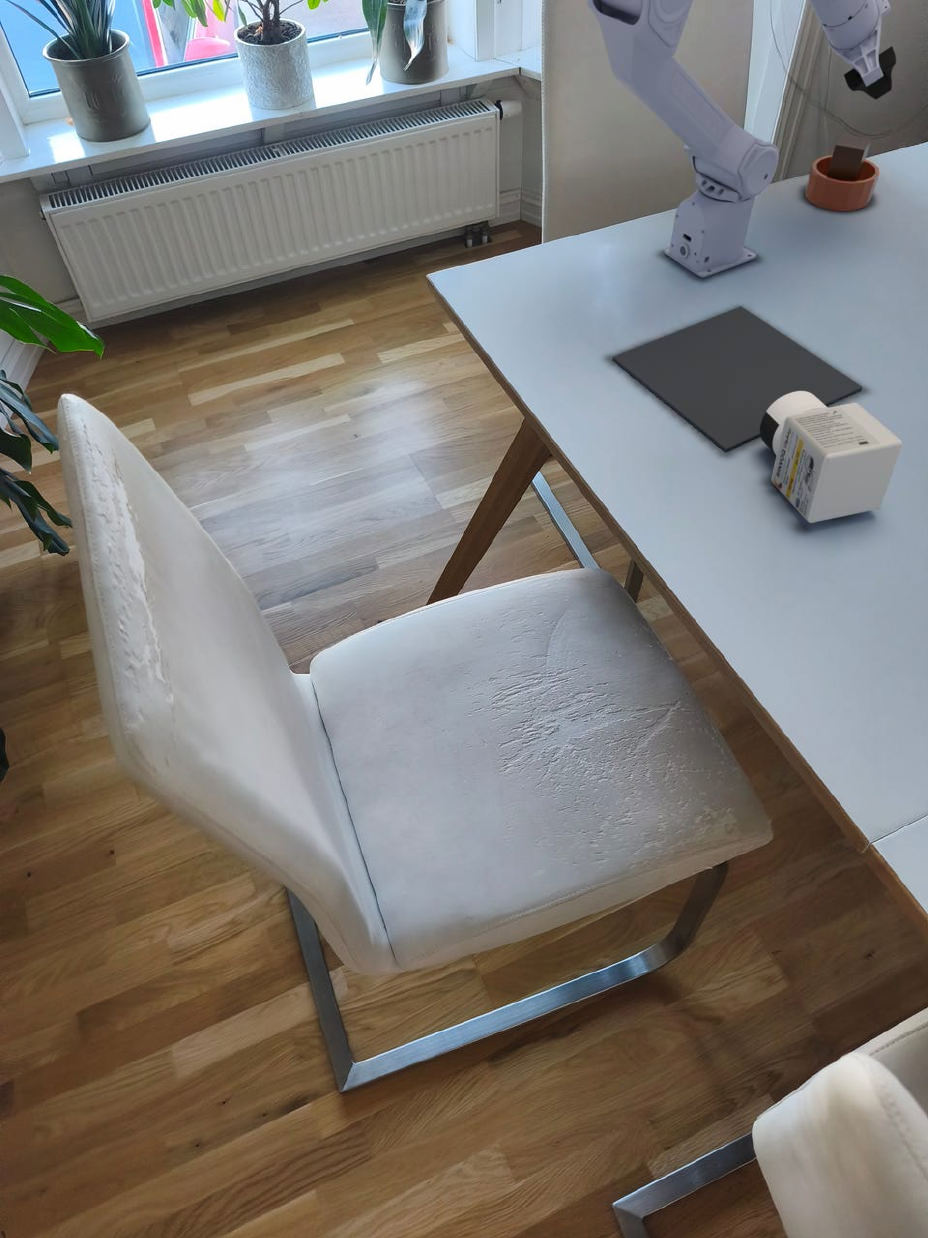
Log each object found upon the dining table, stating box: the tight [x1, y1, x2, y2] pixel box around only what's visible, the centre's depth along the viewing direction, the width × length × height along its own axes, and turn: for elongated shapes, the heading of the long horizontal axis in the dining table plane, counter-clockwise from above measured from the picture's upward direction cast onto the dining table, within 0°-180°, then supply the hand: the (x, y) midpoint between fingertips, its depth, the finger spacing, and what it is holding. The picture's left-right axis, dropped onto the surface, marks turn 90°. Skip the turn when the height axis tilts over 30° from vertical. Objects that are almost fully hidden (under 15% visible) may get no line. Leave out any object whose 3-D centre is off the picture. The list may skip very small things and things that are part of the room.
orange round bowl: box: [804, 154, 880, 212], centre depth 123 cm, size 9×9×4 cm
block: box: [827, 133, 873, 182], centre depth 122 cm, size 4×4×7 cm
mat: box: [611, 306, 863, 452], centre depth 99 cm, size 20×20×1 cm
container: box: [759, 391, 903, 524], centre depth 84 cm, size 8×8×13 cm
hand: (874, 68), depth 110 cm, fingers open, 7 cm apart
